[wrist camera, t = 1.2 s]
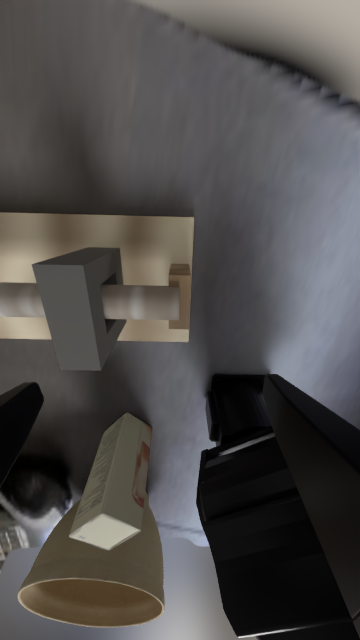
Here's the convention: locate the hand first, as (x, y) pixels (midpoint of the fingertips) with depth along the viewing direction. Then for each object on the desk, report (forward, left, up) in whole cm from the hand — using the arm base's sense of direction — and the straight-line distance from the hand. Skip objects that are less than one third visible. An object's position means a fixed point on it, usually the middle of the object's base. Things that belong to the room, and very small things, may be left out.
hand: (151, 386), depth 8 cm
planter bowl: (+8, +33, -12) cm, 36 cm away
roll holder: (+9, -1, -12) cm, 15 cm away
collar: (+5, -1, -11) cm, 12 cm away
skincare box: (+5, +18, -12) cm, 23 cm away
